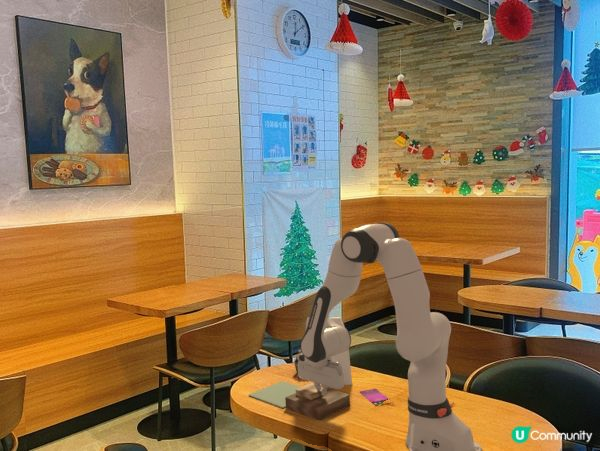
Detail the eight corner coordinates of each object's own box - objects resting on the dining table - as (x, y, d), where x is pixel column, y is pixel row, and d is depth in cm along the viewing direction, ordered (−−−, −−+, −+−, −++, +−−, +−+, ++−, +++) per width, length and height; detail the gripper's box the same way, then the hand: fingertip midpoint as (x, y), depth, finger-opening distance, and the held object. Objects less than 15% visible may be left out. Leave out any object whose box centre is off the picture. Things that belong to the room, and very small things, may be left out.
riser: (350, 405, 204) (349, 394, 203) (319, 420, 193) (318, 409, 192) (316, 394, 216) (315, 384, 215) (286, 408, 205) (285, 397, 204)
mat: (317, 393, 217) (317, 392, 217) (283, 408, 204) (282, 407, 204) (282, 382, 231) (282, 381, 231) (248, 395, 219) (248, 394, 219)
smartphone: (375, 408, 201) (375, 406, 201) (359, 392, 216) (359, 390, 215) (394, 405, 203) (394, 402, 203) (376, 389, 218) (376, 387, 218)
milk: (322, 386, 224) (318, 322, 222) (322, 376, 236) (318, 315, 234) (352, 384, 224) (348, 320, 222) (350, 374, 235) (347, 313, 233)
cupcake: (292, 370, 244) (290, 348, 244) (313, 367, 247) (311, 345, 246) (298, 377, 235) (297, 354, 234) (320, 374, 238) (318, 351, 237)
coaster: (326, 393, 206) (326, 387, 206) (311, 400, 200) (310, 394, 200) (311, 388, 212) (310, 383, 212) (295, 394, 206) (295, 389, 206)
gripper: (347, 360, 196) (349, 399, 197) (306, 350, 210) (308, 386, 211) (335, 365, 191) (337, 405, 192) (293, 354, 206) (296, 391, 207)
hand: (321, 395), depth 202 cm, fingers closed
